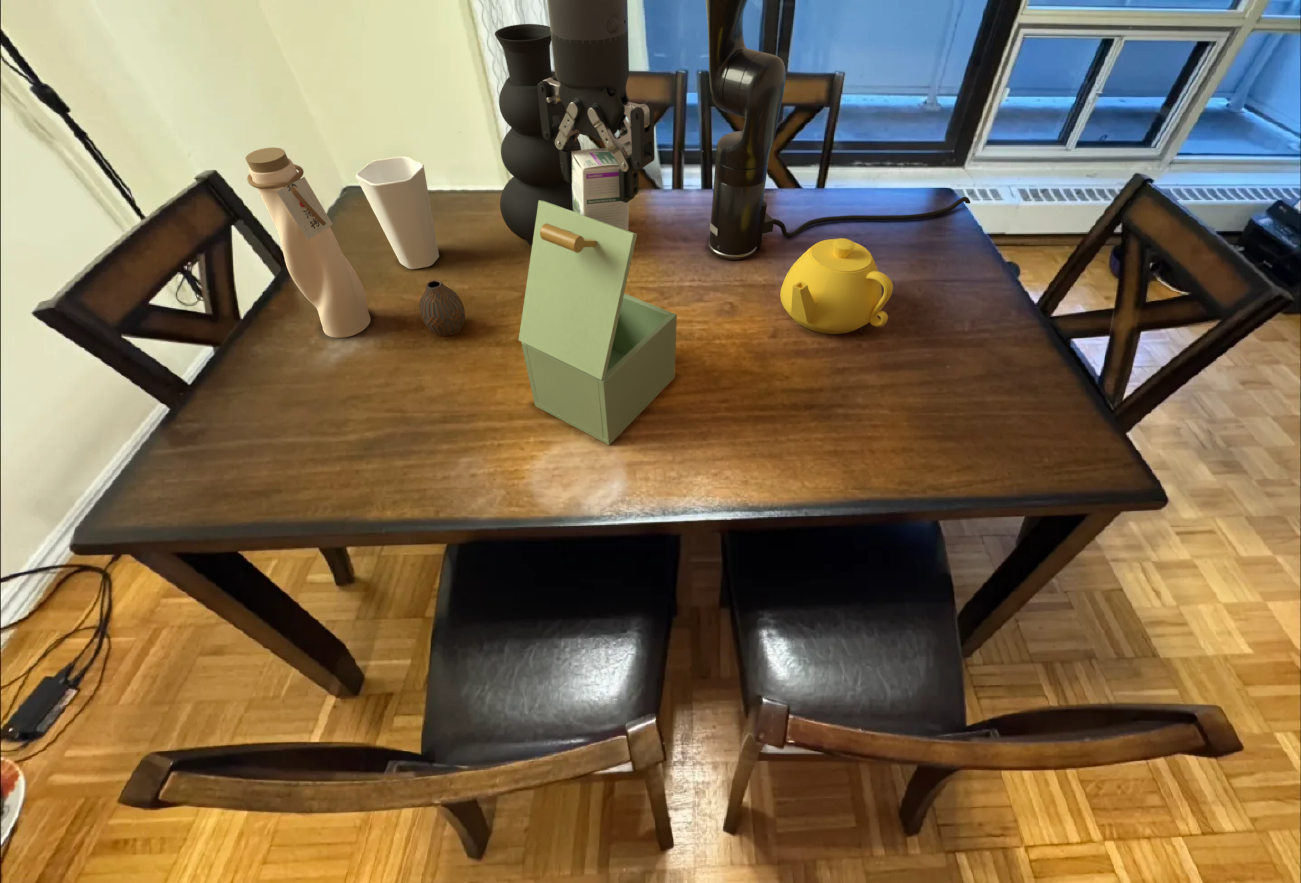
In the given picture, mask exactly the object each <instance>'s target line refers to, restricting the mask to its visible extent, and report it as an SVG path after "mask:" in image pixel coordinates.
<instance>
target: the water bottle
mask: <svg viewBox="0 0 1301 883" xmlns="http://www.w3.org/2000/svg"><path fill="white" fill-rule="evenodd" d="M245 161H246V164H247V165H248V172H249V174H248V175H247V177H246V180H247V183H248V184H249V185H250V186H251V187H252V188H255V189H257V191H258V193H259V195H260V197H261V199H262V201H263V203H264V205H265V207H266V209H267V211H268V213H269V216H270V218H271V220H272V222H273V224H274V226H275V228H276V230H277V232H278V236H279V240H280V245H281V249H282V250H281V251H282V254H283V257H284V262H285V265H286V268H287V271H288V273H289V275H290V277H291V279H292V281H293V282H294V284H295V285H296V287H297V288H298V290H299V291H300V292H301V294H302V295H303V296H304V298H306V299H307V301H309V302H310V303H311V304H312V305H313V306H314V307H315V309H316V310H317V313H318V316H319V320H320V323H321V327H322V331H323V332H324V334H325V335H326V336H328V337H330V338H334V339H341V338H342V339H343V338H349V337H352V336H355V335H357V334H360V333H361V332H363V331H364V330H366V328H367V327H369V325H370V323H371V316H370V313H369V308H368V300H367V295H366V291H365V288H364V286H363V283H362V281H361V279H360V278H359V276H358V274H357V272H356V271H355V269H354V268H353V266H352V265H351V263H350V261H349V259H348V258H347V257H346V256H345V255H344V253H343V252H342V251H343V250H342V249H341V246H340V245H339V242H338V239H337V238H336V236H335V234H334V232H333V230H332V228H331V227H332V226H333V225H334V224H333V223H332V220H331V219H330V217H329V216H328V214H327V212H326V210H325V209H324V207H323V205H322V204H321V202H320V200H319V198H318V197H317V195H316V194H315V192H314V191H313V189H312V187H311V185H310V184H309V181H308V180H307V179H306V177H305V176H304V172H305V171H304V169H303V168H302V167H301V166H300V165H297V164H295V163H293V161H292V160H291V158H288V156H287V153H286V150H284V149H283V148H281V147H265V148H259V149H256V150H253V151H252V152H250V153H248V154H247V155H246V156H245Z"/></svg>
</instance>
